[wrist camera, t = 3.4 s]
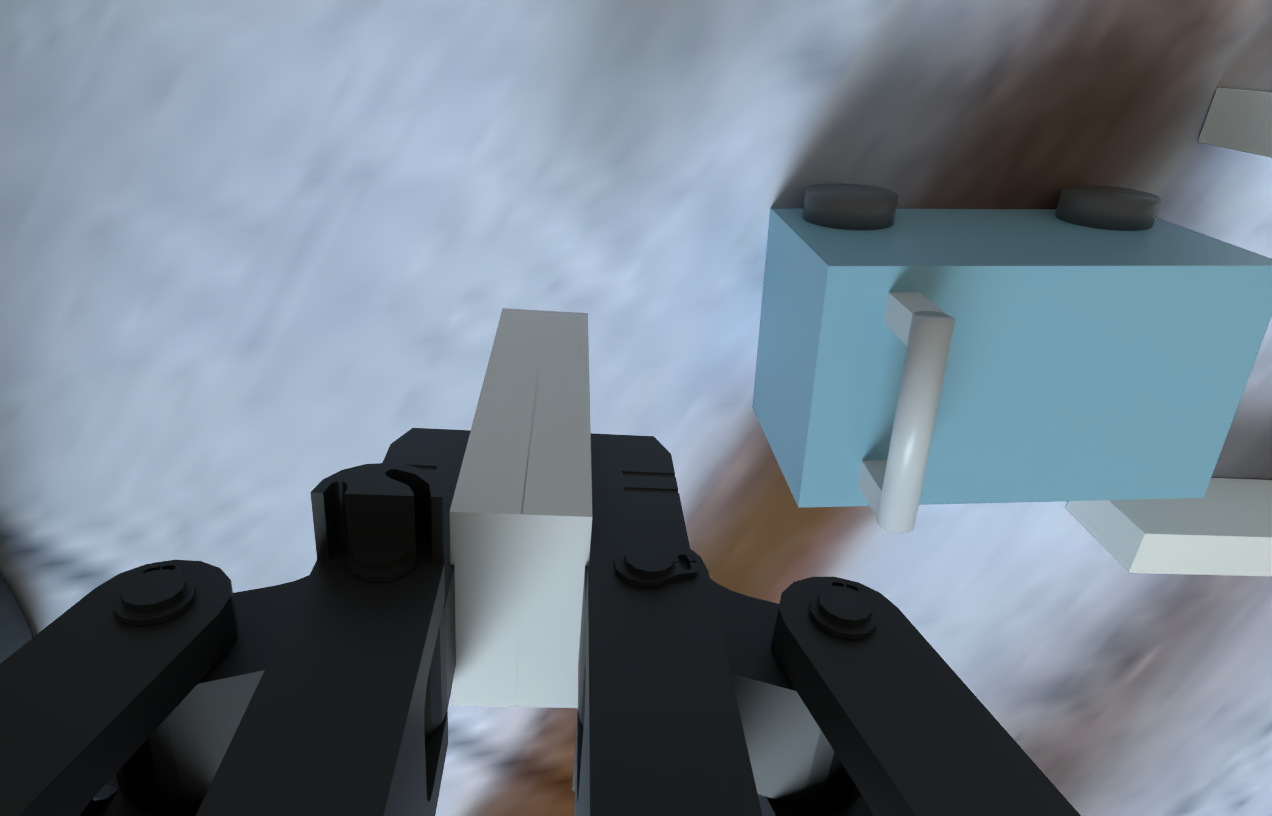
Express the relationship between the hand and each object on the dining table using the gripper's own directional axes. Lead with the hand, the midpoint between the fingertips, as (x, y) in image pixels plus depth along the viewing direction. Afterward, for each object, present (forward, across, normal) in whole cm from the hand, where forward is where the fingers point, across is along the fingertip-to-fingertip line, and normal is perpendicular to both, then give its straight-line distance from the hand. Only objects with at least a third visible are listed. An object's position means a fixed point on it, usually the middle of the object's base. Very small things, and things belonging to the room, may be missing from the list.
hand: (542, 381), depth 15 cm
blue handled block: (+6, +10, 0) cm, 11 cm away
